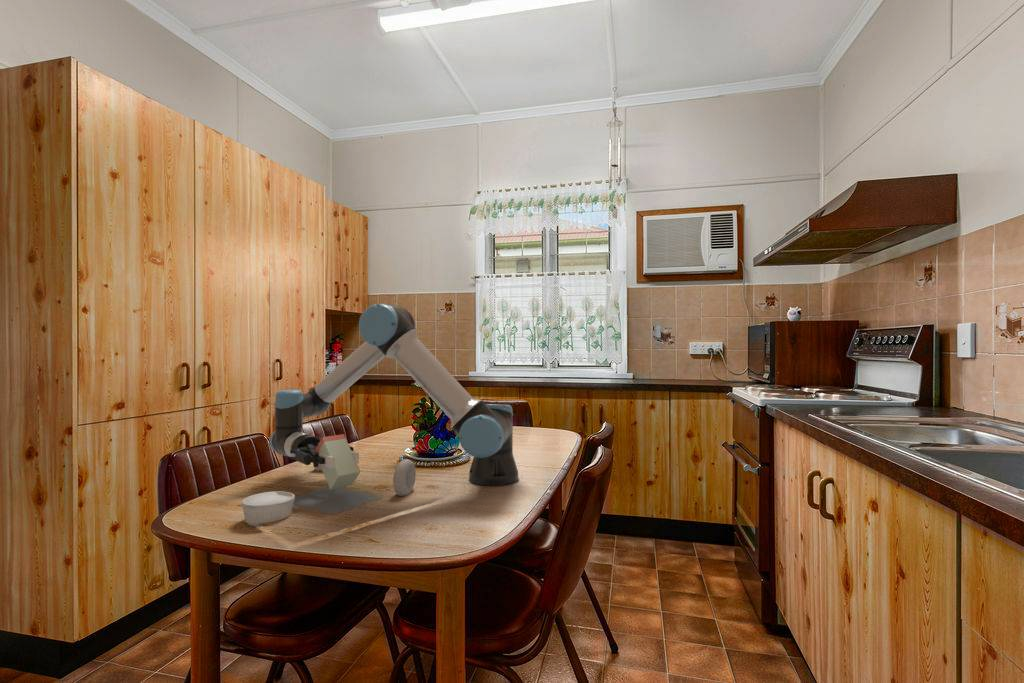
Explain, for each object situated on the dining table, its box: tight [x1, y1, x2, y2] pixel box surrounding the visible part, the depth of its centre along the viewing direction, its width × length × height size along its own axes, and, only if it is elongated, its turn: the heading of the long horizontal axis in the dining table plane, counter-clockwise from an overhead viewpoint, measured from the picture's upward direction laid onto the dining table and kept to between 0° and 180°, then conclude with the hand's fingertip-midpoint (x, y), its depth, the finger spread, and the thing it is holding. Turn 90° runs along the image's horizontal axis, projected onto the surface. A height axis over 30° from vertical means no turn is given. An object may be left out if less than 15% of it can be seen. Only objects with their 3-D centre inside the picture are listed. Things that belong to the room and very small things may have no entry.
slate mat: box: [293, 486, 383, 516], centre depth 130 cm, size 20×16×1 cm
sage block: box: [315, 434, 362, 490], centre depth 128 cm, size 6×6×12 cm
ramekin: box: [241, 490, 296, 528], centre depth 117 cm, size 11×11×5 cm
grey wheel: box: [392, 458, 417, 497], centre depth 135 cm, size 10×4×10 cm, turn 168°
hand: (345, 460), depth 126 cm, fingers closed on sage block, 6 cm apart
